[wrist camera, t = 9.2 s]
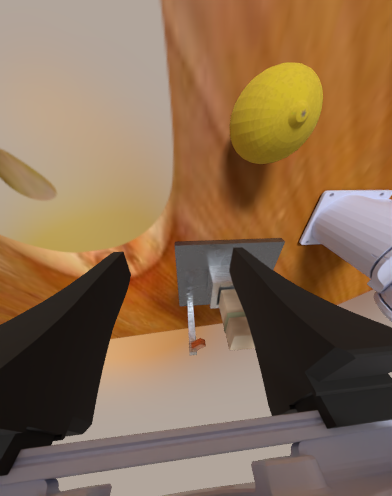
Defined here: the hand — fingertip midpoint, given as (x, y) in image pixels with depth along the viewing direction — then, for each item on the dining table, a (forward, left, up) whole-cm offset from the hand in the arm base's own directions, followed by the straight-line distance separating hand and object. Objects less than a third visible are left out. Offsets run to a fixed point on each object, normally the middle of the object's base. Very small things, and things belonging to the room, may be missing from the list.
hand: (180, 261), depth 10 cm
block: (-7, +12, -6) cm, 15 cm away
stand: (-7, +12, -10) cm, 17 cm away
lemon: (-7, -8, -11) cm, 15 cm away
